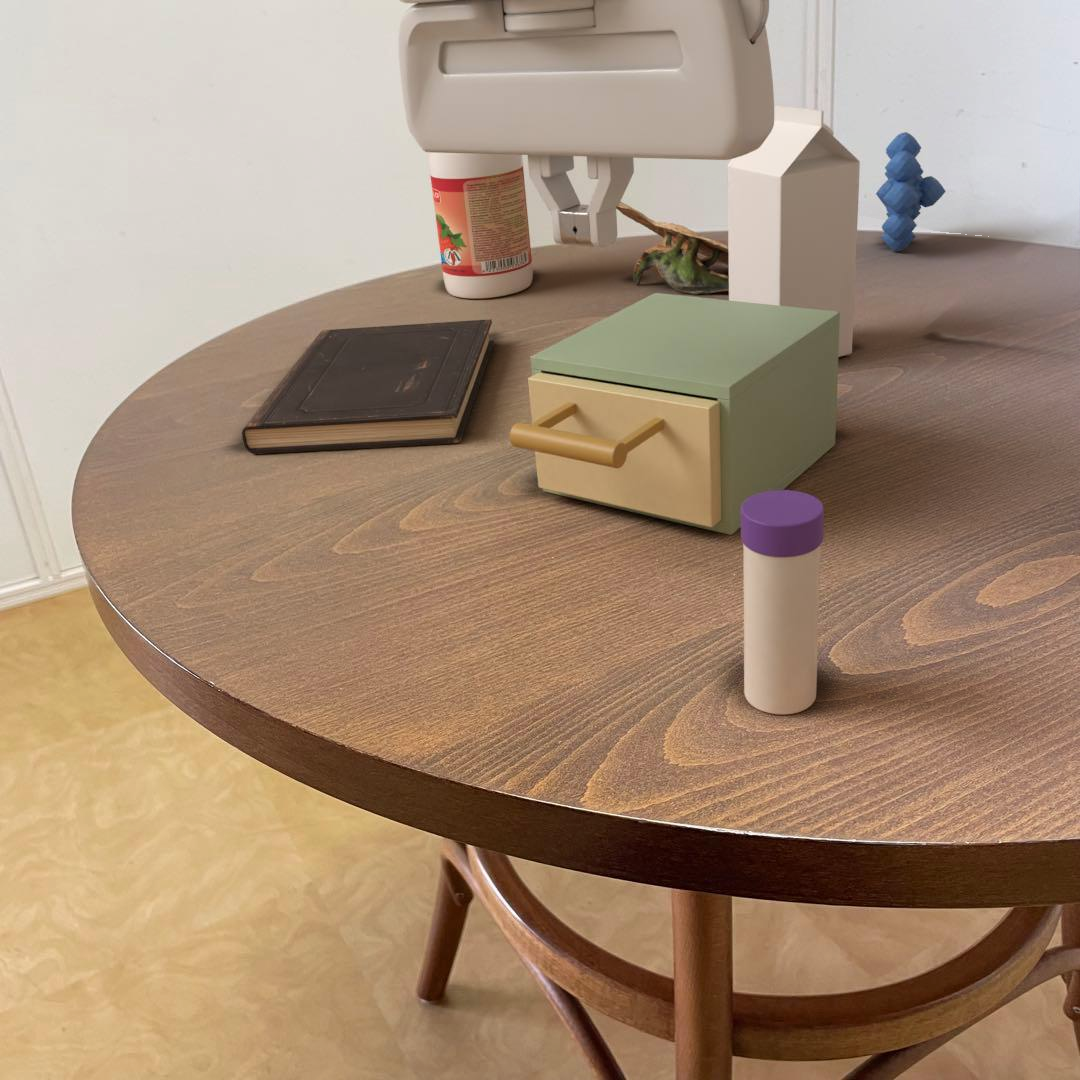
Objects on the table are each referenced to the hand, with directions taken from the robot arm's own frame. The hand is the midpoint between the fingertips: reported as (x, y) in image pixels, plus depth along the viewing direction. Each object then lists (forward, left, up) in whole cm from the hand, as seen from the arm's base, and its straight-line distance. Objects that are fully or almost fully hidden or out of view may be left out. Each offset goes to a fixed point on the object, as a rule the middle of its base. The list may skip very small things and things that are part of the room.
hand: (585, 243), depth 59 cm
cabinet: (0, -10, -17) cm, 20 cm away
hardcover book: (+30, -12, -17) cm, 37 cm away
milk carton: (+4, -33, -17) cm, 38 cm away
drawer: (0, -6, -16) cm, 17 cm away
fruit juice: (+42, -41, -17) cm, 61 cm away
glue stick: (-16, +10, -17) cm, 25 cm away
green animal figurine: (+22, -49, -17) cm, 57 cm away
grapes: (+7, -67, -17) cm, 70 cm away
